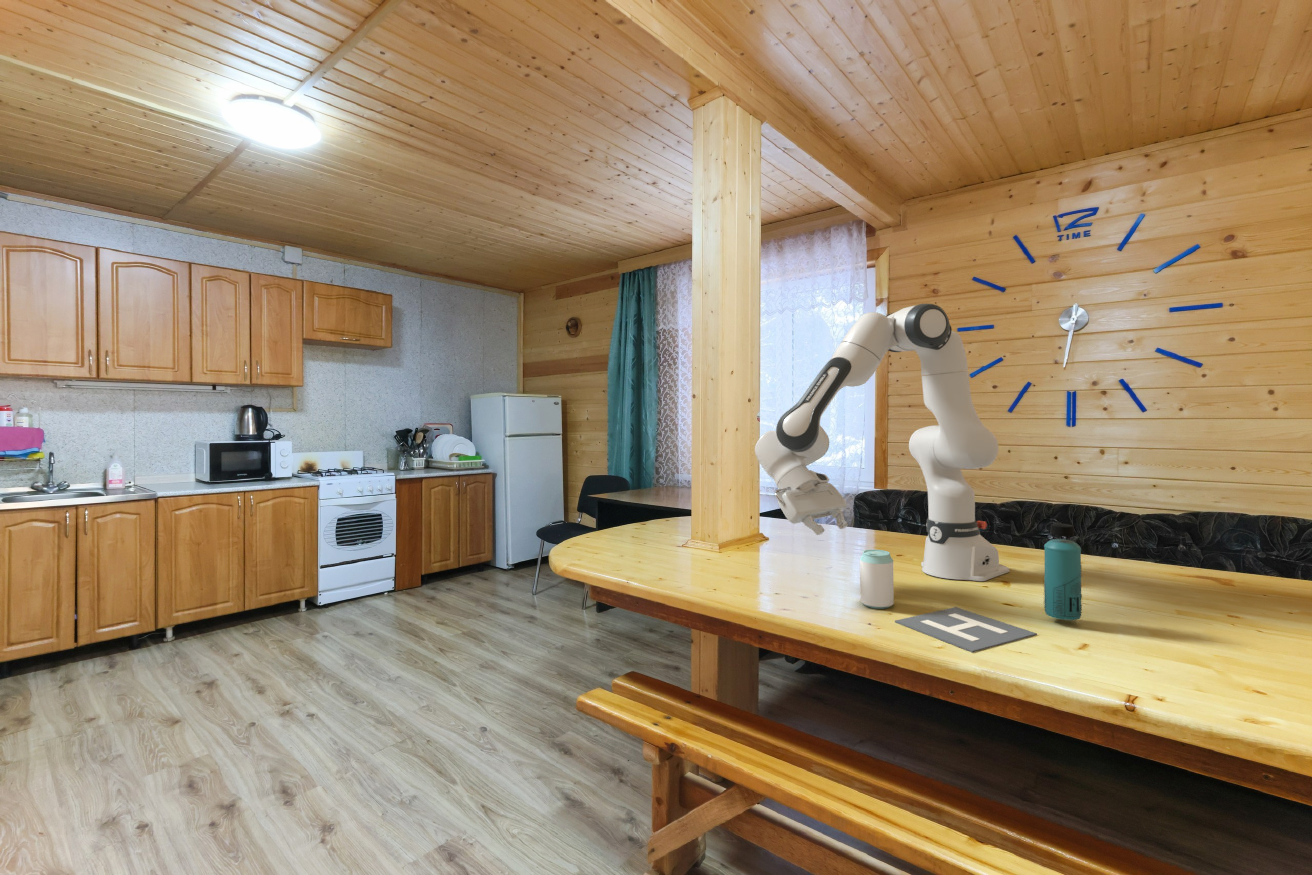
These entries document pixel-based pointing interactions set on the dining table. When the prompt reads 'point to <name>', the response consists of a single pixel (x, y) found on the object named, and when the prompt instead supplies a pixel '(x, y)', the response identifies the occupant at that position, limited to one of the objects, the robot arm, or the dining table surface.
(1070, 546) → the beverage bottle
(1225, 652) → the dining table surface
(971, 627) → the letter mat
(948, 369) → the robot arm
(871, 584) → the can
